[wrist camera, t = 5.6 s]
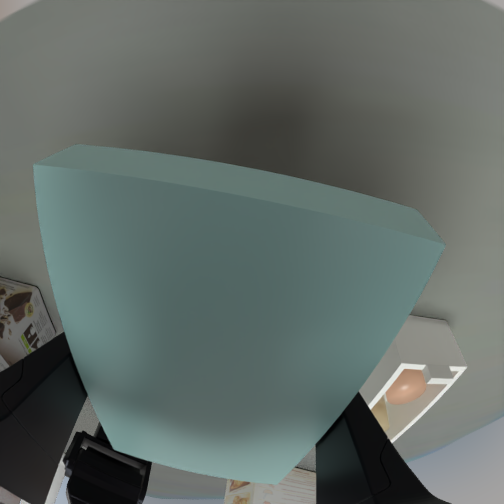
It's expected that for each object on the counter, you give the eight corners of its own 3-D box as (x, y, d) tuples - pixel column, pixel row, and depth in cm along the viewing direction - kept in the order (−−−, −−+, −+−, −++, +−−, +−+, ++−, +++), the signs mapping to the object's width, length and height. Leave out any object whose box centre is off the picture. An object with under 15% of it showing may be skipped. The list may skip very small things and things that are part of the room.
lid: (278, 457, 12) (277, 484, 11) (123, 423, 12) (113, 449, 11) (416, 209, 6) (445, 244, 5) (76, 144, 6) (33, 164, 5)
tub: (374, 413, 29) (380, 463, 23) (322, 410, 29) (324, 463, 23) (446, 319, 21) (473, 378, 16) (385, 310, 21) (406, 377, 16)
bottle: (76, 462, 57) (45, 550, 32) (53, 452, 58) (21, 536, 32) (63, 450, 53) (28, 545, 28) (40, 439, 54) (4, 528, 28)
